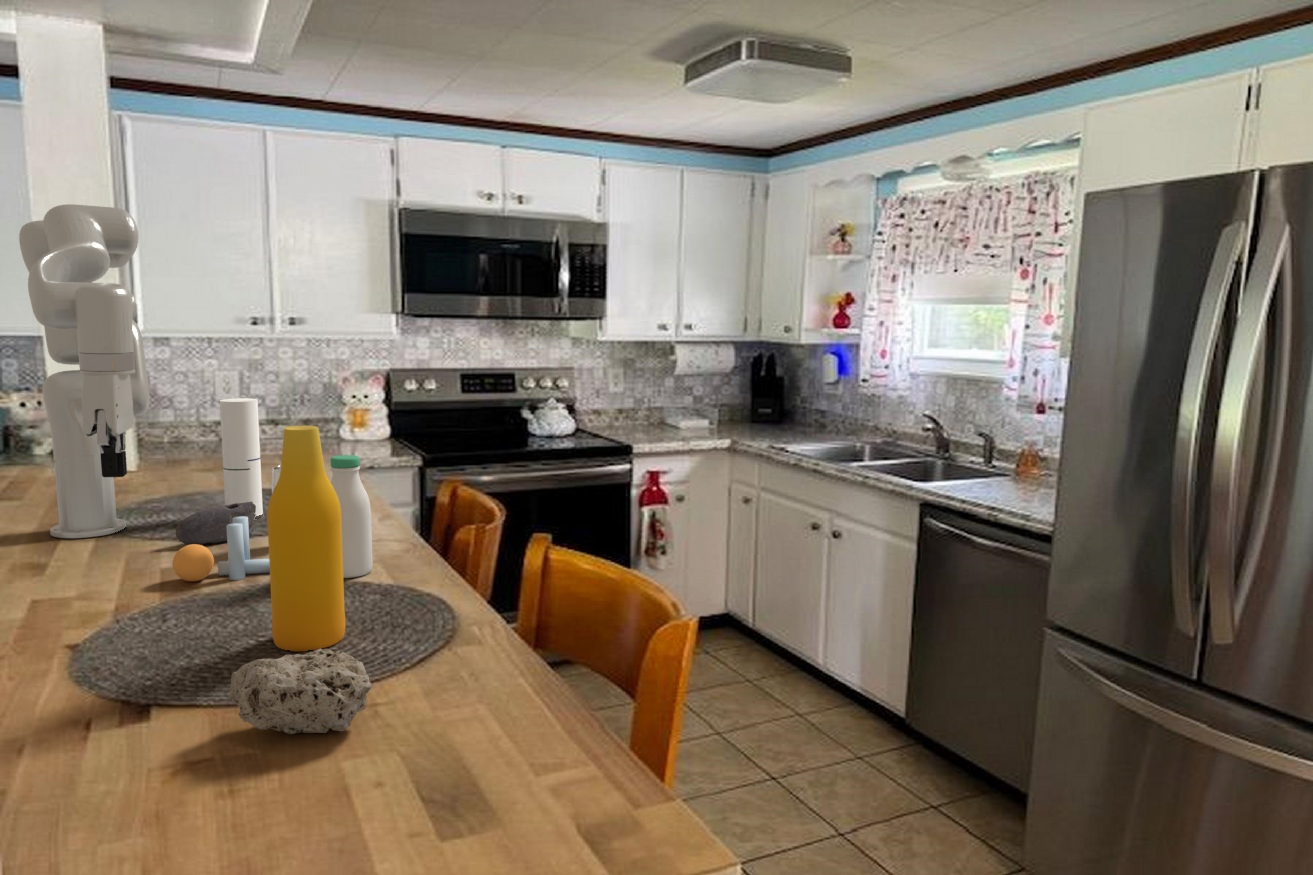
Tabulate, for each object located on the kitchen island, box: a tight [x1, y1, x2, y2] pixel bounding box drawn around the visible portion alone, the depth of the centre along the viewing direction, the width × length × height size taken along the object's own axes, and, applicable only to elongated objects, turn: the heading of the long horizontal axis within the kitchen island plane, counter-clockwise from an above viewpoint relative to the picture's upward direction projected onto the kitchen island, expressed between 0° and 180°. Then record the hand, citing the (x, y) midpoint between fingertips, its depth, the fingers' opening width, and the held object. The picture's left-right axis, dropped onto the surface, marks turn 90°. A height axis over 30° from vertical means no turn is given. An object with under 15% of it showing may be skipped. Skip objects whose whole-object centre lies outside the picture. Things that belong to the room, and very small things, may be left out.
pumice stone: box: [228, 648, 373, 735], centre depth 95 cm, size 14×12×8 cm
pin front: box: [217, 558, 270, 577], centre depth 149 cm, size 2×2×9 cm
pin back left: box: [226, 523, 246, 581], centre depth 145 cm, size 2×2×9 cm
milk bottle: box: [330, 454, 374, 579], centre depth 149 cm, size 8×8×20 cm
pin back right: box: [232, 516, 251, 560], centre depth 150 cm, size 2×2×9 cm
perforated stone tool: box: [175, 502, 256, 546], centre depth 168 cm, size 15×5×7 cm, turn 134°
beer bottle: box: [266, 425, 347, 652], centre depth 118 cm, size 9×9×29 cm
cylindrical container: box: [219, 397, 264, 517], centre depth 186 cm, size 7×7×25 cm
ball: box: [172, 544, 215, 582], centre depth 144 cm, size 6×6×6 cm
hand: (114, 475), depth 144 cm, fingers closed
